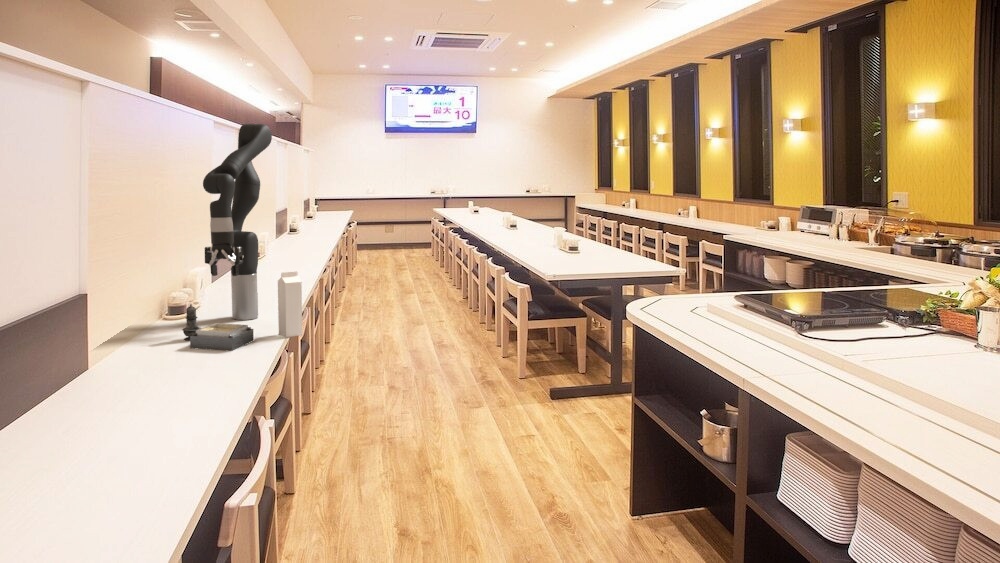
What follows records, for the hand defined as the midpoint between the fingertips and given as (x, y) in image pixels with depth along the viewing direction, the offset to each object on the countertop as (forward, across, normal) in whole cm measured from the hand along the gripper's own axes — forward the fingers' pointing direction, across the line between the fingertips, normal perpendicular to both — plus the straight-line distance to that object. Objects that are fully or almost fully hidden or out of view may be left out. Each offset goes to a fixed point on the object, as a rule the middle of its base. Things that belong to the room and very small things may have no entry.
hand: (224, 275), depth 245 cm
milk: (+20, -27, +2) cm, 34 cm away
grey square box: (+20, -15, +22) cm, 33 cm away
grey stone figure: (+19, -1, +20) cm, 28 cm away
